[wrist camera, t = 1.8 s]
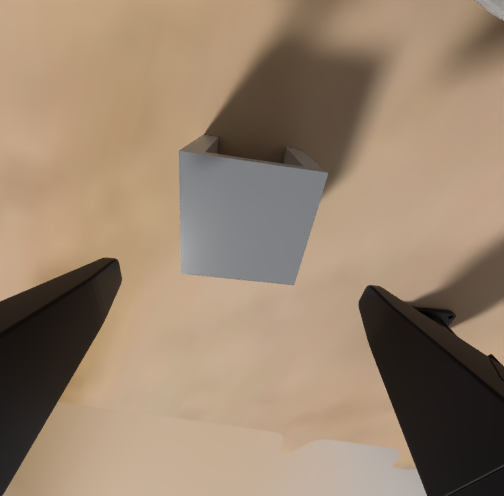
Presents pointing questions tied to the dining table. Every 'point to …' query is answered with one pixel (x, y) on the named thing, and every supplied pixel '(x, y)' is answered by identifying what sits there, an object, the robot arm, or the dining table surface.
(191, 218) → the grey cover
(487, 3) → the dish
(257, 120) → the dining table surface
